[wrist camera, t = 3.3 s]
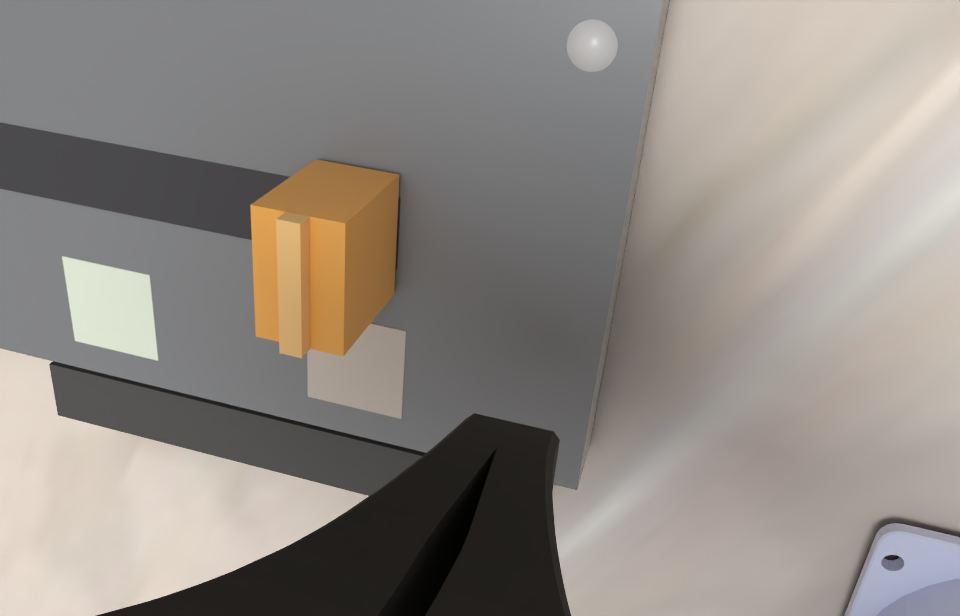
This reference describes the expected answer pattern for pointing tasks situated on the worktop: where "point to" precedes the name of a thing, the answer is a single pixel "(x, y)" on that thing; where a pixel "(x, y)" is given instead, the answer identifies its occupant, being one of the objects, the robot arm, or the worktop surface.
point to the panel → (340, 139)
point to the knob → (324, 256)
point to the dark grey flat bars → (228, 430)
